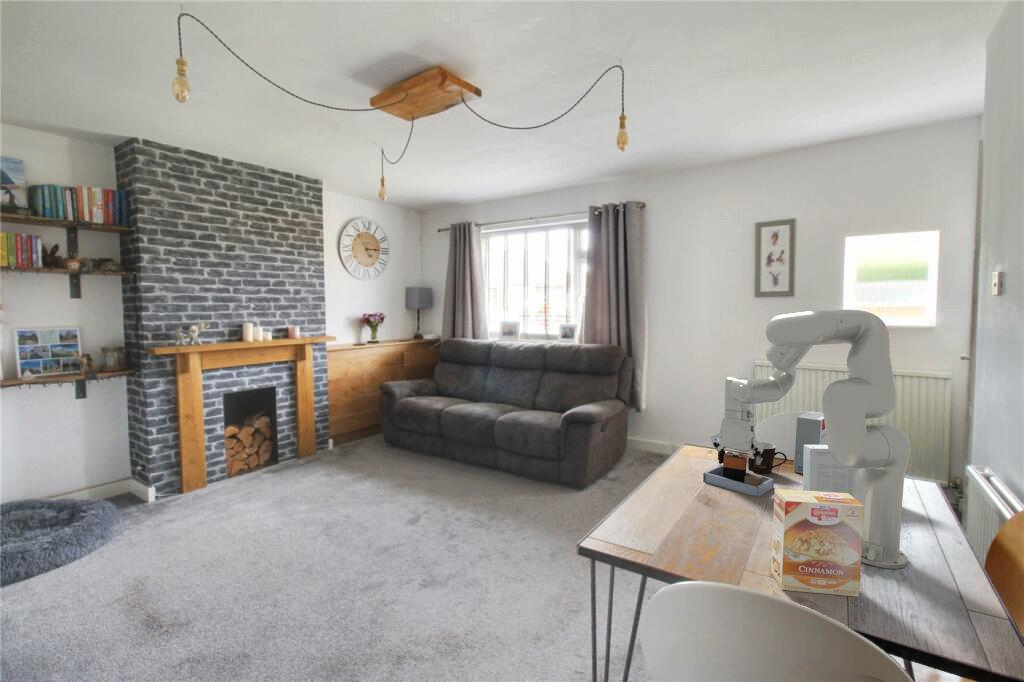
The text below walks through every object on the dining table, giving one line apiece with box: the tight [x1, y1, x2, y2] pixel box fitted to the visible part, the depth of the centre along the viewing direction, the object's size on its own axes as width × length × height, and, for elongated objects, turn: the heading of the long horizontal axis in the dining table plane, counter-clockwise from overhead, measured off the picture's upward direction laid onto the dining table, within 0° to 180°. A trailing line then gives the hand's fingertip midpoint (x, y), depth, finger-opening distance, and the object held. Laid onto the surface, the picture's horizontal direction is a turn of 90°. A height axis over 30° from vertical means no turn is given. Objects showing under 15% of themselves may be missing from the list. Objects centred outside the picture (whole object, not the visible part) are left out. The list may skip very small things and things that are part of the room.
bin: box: [702, 464, 775, 498], centre depth 159 cm, size 12×18×4 cm, turn 40°
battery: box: [722, 451, 748, 483], centre depth 159 cm, size 4×7×10 cm, turn 63°
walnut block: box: [744, 473, 763, 487], centre depth 155 cm, size 4×4×4 cm
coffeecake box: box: [770, 488, 864, 598], centre depth 103 cm, size 15×7×20 cm, turn 80°
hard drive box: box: [793, 410, 828, 474], centre depth 173 cm, size 16×8×20 cm, turn 132°
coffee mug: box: [748, 441, 788, 475], centre depth 169 cm, size 12×9×10 cm
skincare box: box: [802, 445, 855, 496], centre depth 149 cm, size 21×6×16 cm, turn 84°
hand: (736, 466), depth 158 cm, fingers open, 9 cm apart
